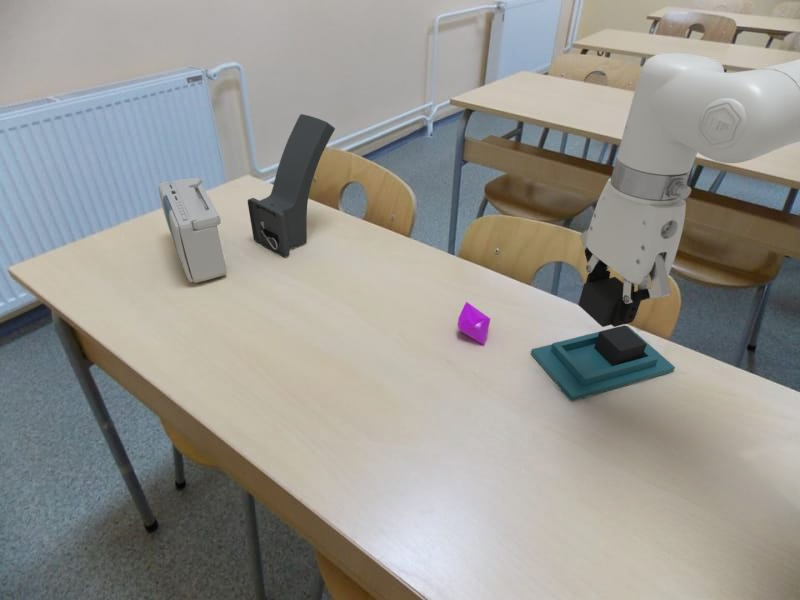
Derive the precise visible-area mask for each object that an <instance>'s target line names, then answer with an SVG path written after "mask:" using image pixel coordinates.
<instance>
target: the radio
mask: <svg viewBox="0 0 800 600" xmlns="http://www.w3.org/2000/svg"><path fill="white" fill-rule="evenodd" d="M203 181H205V178H204V177H201V178H200V179H199V177H189V178H183V179H182V178H181V179H177V180H171V181H165V182H160V183H159V184H158V194H159V198H160V199H159V200H160V202H161V203H160V204H161V207H162V211H163V214H164V217H165V220H166V224H167V228H168V229H169V233H170V235H171V238H172V240H173V245H174V246H175V250H176V252H177V254H178V257H179V260H180V263H181V265H182V268H183V270H184V273H185V276H186V278H187V280H188V281H189V282H190V283H195V284H196V283H197V284H198V283H201V282H205V281H209V280H213V279H216V278H219V277H224V276H226V275H227V267H226V262H225V258H224V253H223V249H222V243H221V239H220V233H219V229H218V226H219V225H220V224H222V222H221V221H222V219H221V216H220V214H219V213H218V211H217V208H216V207H215V205H214V204H213V202H212V199H211V197H210V196H209V195H208V193H207V191H206V189H205V188H204V186H203Z"/></svg>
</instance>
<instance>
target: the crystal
mask: <svg viewBox="0 0 800 600" xmlns="http://www.w3.org/2000/svg"><path fill="white" fill-rule="evenodd" d="M490 323H491V318H490V317H489V316H487V315H486V314H484V313H483V312H482V311H480V310H479V309H477V308H476V307H475V306H474V305H472V304H470V302H467V301H465V303H464V305H463V307H462V310H461V312H460V314H459V316H458V319H457V328H458V331H460V332H461V333H463V334H464V335H466V336H468V337H469V338H471V339H473V340H474V341H476V342H478V343H479V344H481V345H483V346H485V345H486V340H487V335H488V331H489V327H490Z"/></svg>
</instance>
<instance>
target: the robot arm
mask: <svg viewBox="0 0 800 600" xmlns="http://www.w3.org/2000/svg"><path fill="white" fill-rule="evenodd" d="M799 142H800V58H799V59H795V60H792V61H791V60H790V61H787V62H784V63H778V64H773V65H768V66H764V67H760V68H755V69H749V70H743V71H742V70H741V71H736V72H735V71H734V72H725V70H724V66H723V64H722V63H721V62H720V61H719V60H716V59H714V58H712V57H708V56H704V55H699V54H693V53H683V52H666V53H665V52H664V53H659V54H656V55H652V56H651V57H649V58H648V59H647V60H646V61H645V62H644V64H643V65H642V67H641V70H640V72H639V75H638V78H637V81H636V86H635V89H634V93H633V97H632V99H631V104H630V108H629V111H628V115H627V119H626V122H625V126H624V129H623V133H622V136H621V141H620V145H619V148H618V152H617V155H616V159H615V162H614V166H613V170H612V173H611V177H610V178H608V179H607V181H606V183H605V185H604V187H603V189H602V192H600V193H601V194H600V195H599V197H598V201H597V203H596V206H595V208H594V211H593V213H592V217H591V220H590V224H589V227H588V229H586V230H584V231H583V232H582V233H581V234H580V242H581V243H582V246H583V249H584V255H585V259H586V262H587V263H586V265H585V271H586V273H587V276H586V280H585V283H589V282H594V281H598V280H603V279H607V278H611V273H612V272H611V271H610V270H609V268H610V269H611V270H613V271H614V272H615V273H617V274H618V275H619V276H621V277H622V278H623V283H624V286H623V298H620V299H618V300H617V304H616V307H615V310H614V313H613V316H612V319H611V323H610V324H611V325H610V326H612V328H615V327H620V326H624V325H627V324H631V323H633V322H634V320H635V318H636V316H637V313H638V310H639V307H640V304H641V303H642V301H646V300H651V299H652V300H653V299H661V298H664V297H669V296H670V295H671V294H672V293H671V292H672V291H671V287H670V282H669V277H668V276H669V275H670V273H671V270H672V267H673V264H674V262H675V258H676V256H677V252H678V249H679V246H680V242H681V238H682V234H683V229H684V226H685V225H684V224H685V217H686V210H687V209H686V208H687V201H686V200H685V199H687V198H688V197H689V196H690V195H691V194H692V188H691V186H688V184H687V183H688V180H689V177H690V174H691V172H692V168H693V166H694V163H695V160H696V157H697V154H700V155H701V156H703V157H705V158H707V159H710V160H712V161H714V162H719V163H723V164H739V163H744V162H747V161H751V160H753V159H756V158H759V157H762V156H764V155H767V154H769V153H772V152H773V151H776V150H778V149H782V148H784V147H787V146H789V145H793V144H796V143H799ZM650 281H651V287H650ZM635 285H637V290H635V287H636V286H635Z"/></svg>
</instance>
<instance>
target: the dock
mask: <svg viewBox="0 0 800 600" xmlns="http://www.w3.org/2000/svg"><path fill="white" fill-rule="evenodd" d="M626 326H627V327H628V328H629V329H630V330H631V331H632V332H633V333H635V334H636V335H637V336H638V337H639V338H640V339H641V340H643V341H644V342H645V343H646V344H647V345H646V348H645V350H644V353H643V356H642V358H641V359H637V360H633V361H630V362H626V363H622V364H619V365H615V366H612V365H611V364H610V363H609V362H608V361H607V360H606V359H605V358H604V357H603V356H602V355H601V354H600V353H599V352H598V351H597V350H596V349H595V348H594V347H595V344H596V341H597V338H598V334H599V332H600V331H597V332H593V333H589V334H585V335H581V336H576V337H573V338H568V339H565V340H560V341H556V342H552V343H551V344H547V345H544V346H539V347H536V348H532V349H531V350H530V355H531V356H532V358H534V359H535V361H536V362H537V364H539V365H540V367H541V368H542V370H544V371H545V373H546V374H547V375H548V376H549V377H550V378H551V380H552V381H553V382H554V383H555V384H556V385H557V387H558V388H559V389H560V390H561V391H562V393H563V394H564V395H565V396H566V398H568V400H569V401H570V402H574V401H577V400H581V399H585V398H588V397H591V396H595V395H598V394H601V393H606V392H608V391H612V390H616V389H618V388H622V387H625V386H630V385H632V384H637V383H639V382H643V381H647V380H649V379H653V378H657V377H660V376H664V375H667V374H670V373H674V371H675V369H676V367H675V365H673V364H672V363H671V362H670V361H669V360H668V359H666V358H665V357H664V356H663V355H662V354H661V353H660V352H658V351H657V349H655V348H654V347H653V346H652V345H650V343H648V341H646V340H645V339H643V338H642V337H641V336H640V335H639V334H638V333H637V332H636V331H634V329H632V328H631V327H630V326H629V325H626Z"/></svg>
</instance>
